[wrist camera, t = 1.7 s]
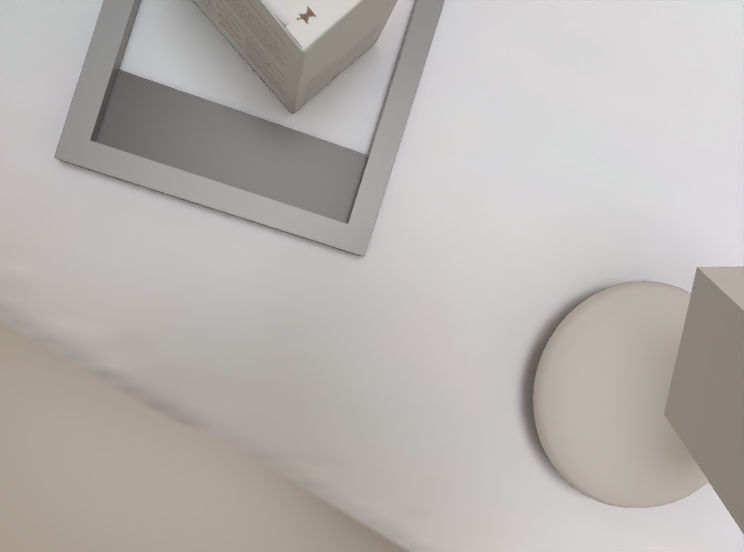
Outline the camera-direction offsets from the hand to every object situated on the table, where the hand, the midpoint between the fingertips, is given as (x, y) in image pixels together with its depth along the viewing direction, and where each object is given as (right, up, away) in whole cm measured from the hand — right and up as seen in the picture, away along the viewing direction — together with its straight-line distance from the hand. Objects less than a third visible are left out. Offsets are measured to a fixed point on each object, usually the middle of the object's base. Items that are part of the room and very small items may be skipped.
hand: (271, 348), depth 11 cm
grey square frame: (-3, +12, +22) cm, 25 cm away
